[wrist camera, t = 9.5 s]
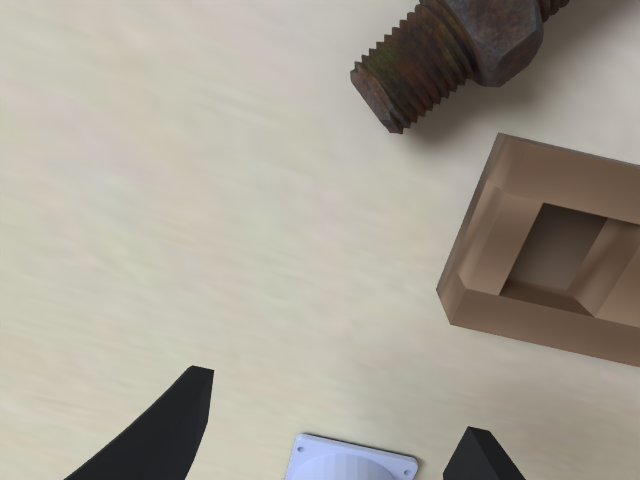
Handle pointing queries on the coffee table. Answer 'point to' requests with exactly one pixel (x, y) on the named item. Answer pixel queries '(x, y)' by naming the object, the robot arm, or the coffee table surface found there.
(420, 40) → the bolt
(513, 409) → the coffee table surface
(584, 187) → the socket block
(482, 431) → the robot arm
